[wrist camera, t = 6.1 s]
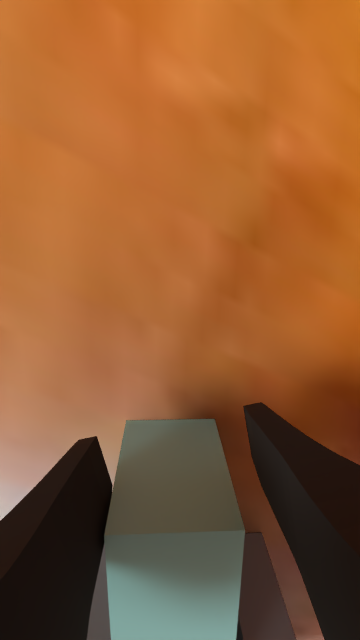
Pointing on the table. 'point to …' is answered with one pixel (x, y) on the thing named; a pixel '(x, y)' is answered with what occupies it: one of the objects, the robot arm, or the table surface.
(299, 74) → the table surface
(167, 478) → the plug
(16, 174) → the table surface
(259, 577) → the header
